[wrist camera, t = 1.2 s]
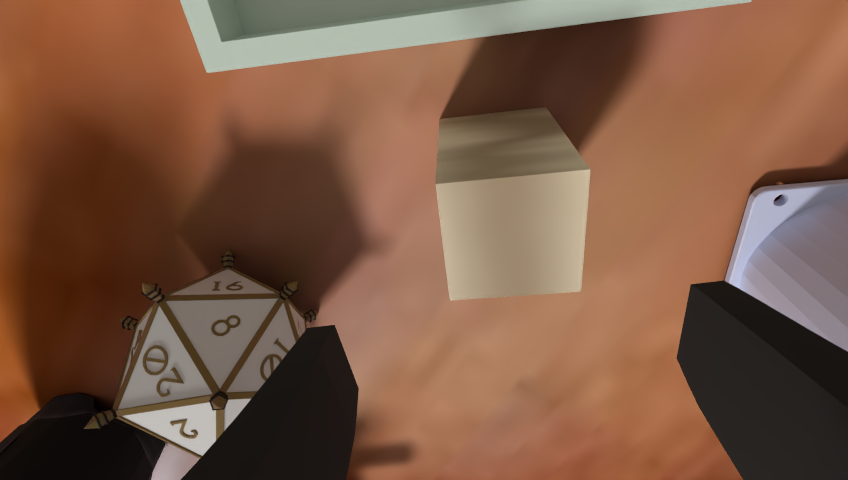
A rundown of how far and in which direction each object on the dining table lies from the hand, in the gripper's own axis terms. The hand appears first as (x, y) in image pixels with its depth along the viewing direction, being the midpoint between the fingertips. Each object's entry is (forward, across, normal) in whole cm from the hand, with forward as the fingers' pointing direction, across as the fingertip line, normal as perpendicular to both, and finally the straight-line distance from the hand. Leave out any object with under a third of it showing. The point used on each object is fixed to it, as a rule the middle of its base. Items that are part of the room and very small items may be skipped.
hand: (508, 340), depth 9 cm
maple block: (+10, -1, 0) cm, 10 cm away
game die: (+10, +11, +6) cm, 16 cm away
